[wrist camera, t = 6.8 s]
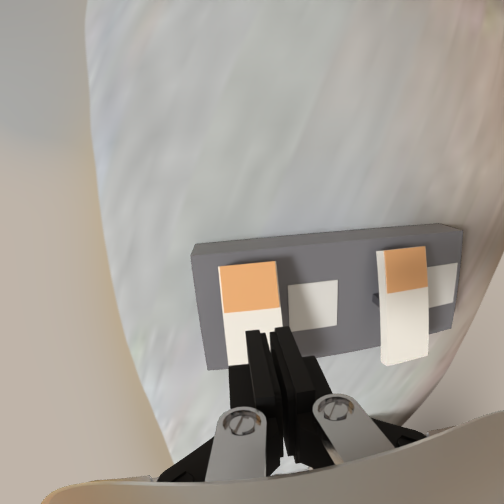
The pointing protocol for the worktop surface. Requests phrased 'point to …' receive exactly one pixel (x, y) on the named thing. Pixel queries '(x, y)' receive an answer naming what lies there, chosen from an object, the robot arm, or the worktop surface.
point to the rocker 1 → (248, 305)
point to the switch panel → (328, 284)
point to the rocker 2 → (403, 304)
